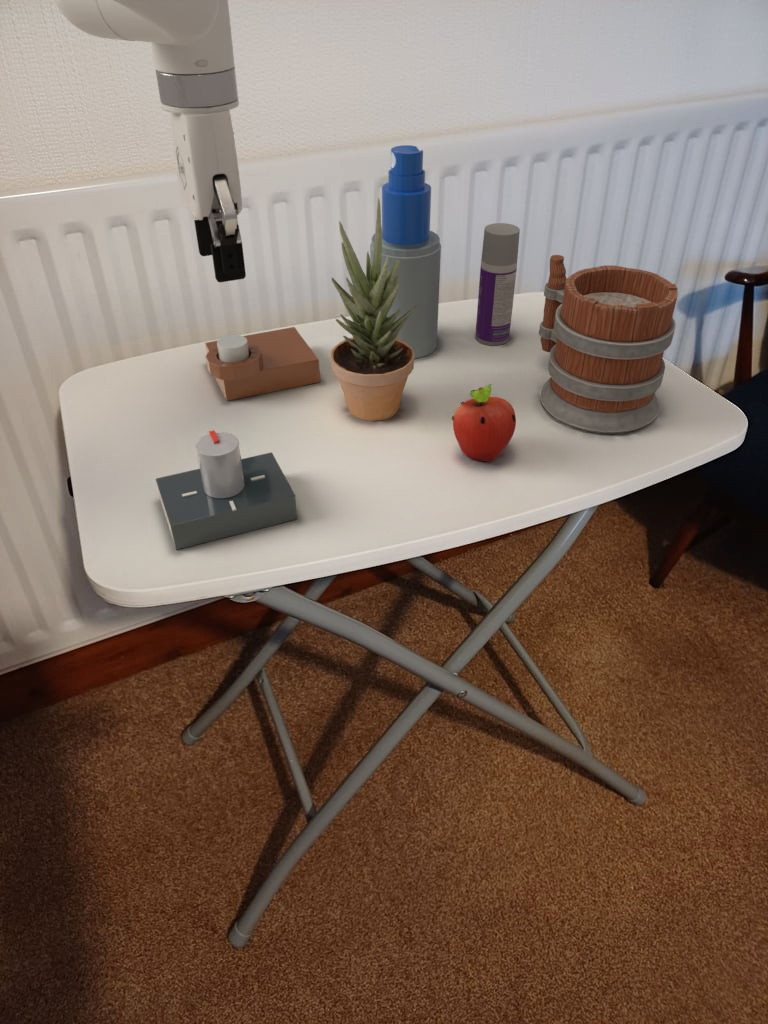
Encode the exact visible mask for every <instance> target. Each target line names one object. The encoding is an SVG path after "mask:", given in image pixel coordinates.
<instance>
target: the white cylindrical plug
mask: <svg viewBox="0 0 768 1024" xmlns="http://www.w3.org/2000/svg"><path fill="white" fill-rule="evenodd" d="M244 336H245V335H241V334H240V335H239V334H228V335H225V336H222V337H220V338H219V339H218V340H216V341H217V347H218V354H219V359H220V360H221V361H223V362H233V363H234V362H240V361H243V360H245V359H247V358H249V349H248V341H247V339H246V338H245V337H244Z"/></svg>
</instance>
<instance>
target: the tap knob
mask: <svg viewBox="0 0 768 1024" xmlns="http://www.w3.org/2000/svg"><path fill="white" fill-rule="evenodd" d="M195 450H196V455H197V462H198V466H199V469H200V473H201V478H202V483H203V489H204V492H205V493H206V494H207V495H208V496H210V497H213V498H229V497H233V496H235V495H237V494H239V493H240V492H241V491H242V490H243V488H244V486H245V482H244V475H243V467H242V460H241V459H242V453H241V447H240V440H239V438H238V437H237V436H236V435H234V434H233V433H229V432H224V431H223V432H222V431H221V432H219V431H217V432H216V430H209V431H208V433H207V434H206V435H203V436H202V437H201V438H199V439H198V440H197V442H196V443H195Z"/></svg>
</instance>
